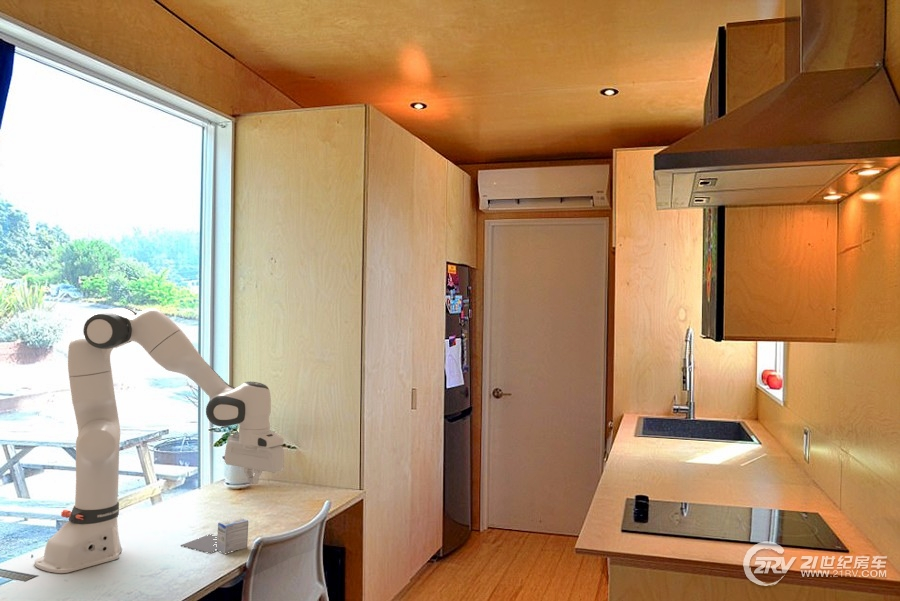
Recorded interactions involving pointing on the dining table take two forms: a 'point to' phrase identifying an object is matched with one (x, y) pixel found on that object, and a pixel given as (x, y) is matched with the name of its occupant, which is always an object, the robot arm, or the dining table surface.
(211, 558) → the dining table surface
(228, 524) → the medicine box
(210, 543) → the mat
